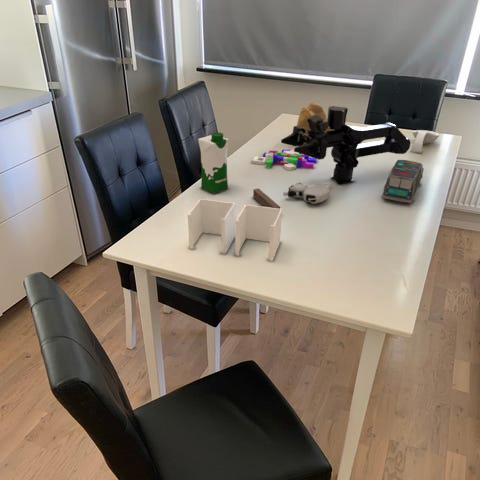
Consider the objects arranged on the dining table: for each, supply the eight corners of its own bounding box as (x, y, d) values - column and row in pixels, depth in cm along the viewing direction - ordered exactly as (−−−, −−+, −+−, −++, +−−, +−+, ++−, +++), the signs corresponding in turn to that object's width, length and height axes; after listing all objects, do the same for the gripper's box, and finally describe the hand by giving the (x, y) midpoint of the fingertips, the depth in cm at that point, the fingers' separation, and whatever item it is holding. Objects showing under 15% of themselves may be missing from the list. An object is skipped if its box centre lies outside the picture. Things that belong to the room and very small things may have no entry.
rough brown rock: (325, 153, 208) (333, 117, 198) (289, 145, 211) (295, 109, 202) (336, 139, 225) (344, 105, 216) (302, 131, 229) (308, 98, 219)
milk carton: (213, 195, 170) (212, 138, 158) (197, 188, 175) (194, 132, 163) (231, 189, 175) (231, 133, 163) (215, 181, 180) (213, 127, 168)
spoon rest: (413, 135, 226) (417, 120, 221) (439, 139, 221) (443, 123, 217) (402, 151, 209) (406, 134, 205) (430, 155, 205) (434, 138, 200)
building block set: (319, 155, 204) (320, 144, 201) (311, 173, 188) (312, 161, 185) (262, 149, 209) (262, 138, 206) (249, 165, 194) (250, 154, 191)
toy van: (421, 182, 182) (428, 156, 176) (410, 207, 165) (417, 179, 158) (393, 177, 186) (398, 151, 179) (379, 201, 168) (385, 174, 162)
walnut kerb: (258, 197, 170) (258, 188, 168) (279, 216, 159) (280, 206, 157) (252, 198, 169) (253, 189, 167) (274, 217, 158) (274, 207, 156)
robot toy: (280, 202, 169) (320, 209, 162) (280, 190, 166) (321, 196, 159) (296, 190, 177) (334, 196, 170) (296, 178, 174) (335, 184, 168)
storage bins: (279, 242, 145) (282, 209, 138) (272, 260, 136) (274, 226, 130) (201, 231, 150) (200, 198, 143) (189, 248, 141) (187, 214, 135)
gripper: (314, 108, 171) (276, 113, 166) (344, 123, 158) (303, 129, 152) (311, 140, 178) (274, 145, 173) (340, 156, 165) (300, 163, 159)
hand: (287, 145), depth 164 cm, fingers open, 9 cm apart
